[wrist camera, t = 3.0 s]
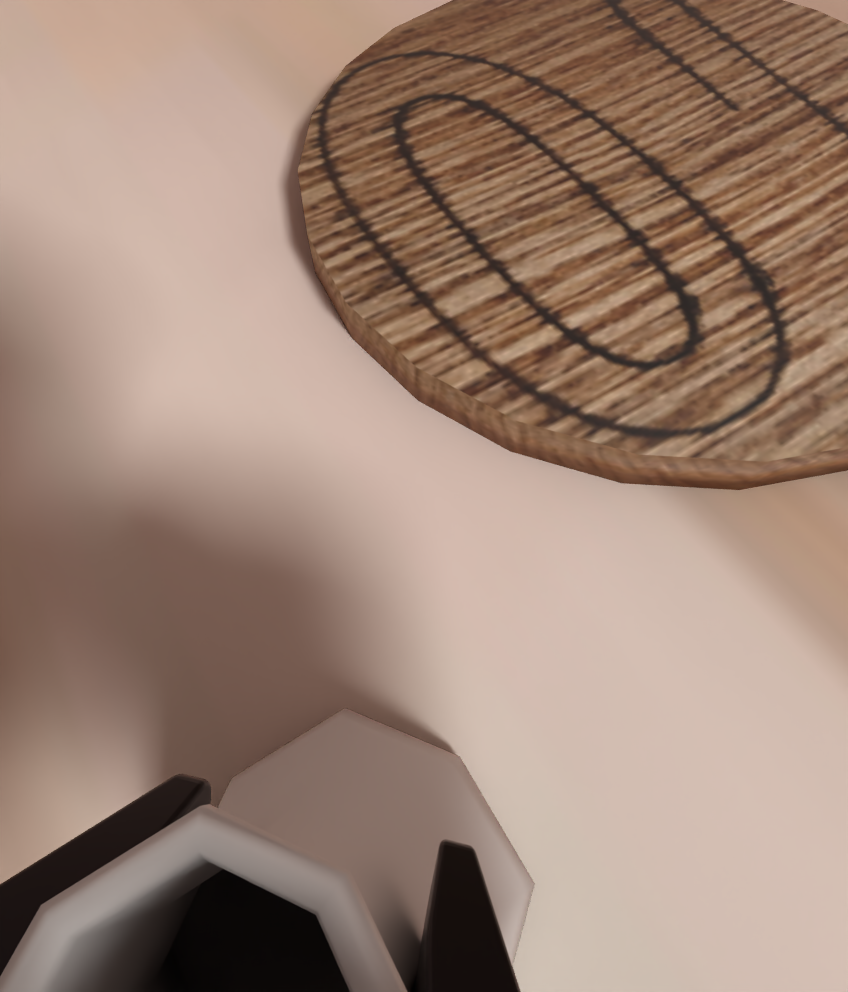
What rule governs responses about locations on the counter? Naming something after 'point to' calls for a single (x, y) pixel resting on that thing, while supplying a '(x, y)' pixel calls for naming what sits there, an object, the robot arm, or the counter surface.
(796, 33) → the trivet
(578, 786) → the counter surface
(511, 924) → the flask
